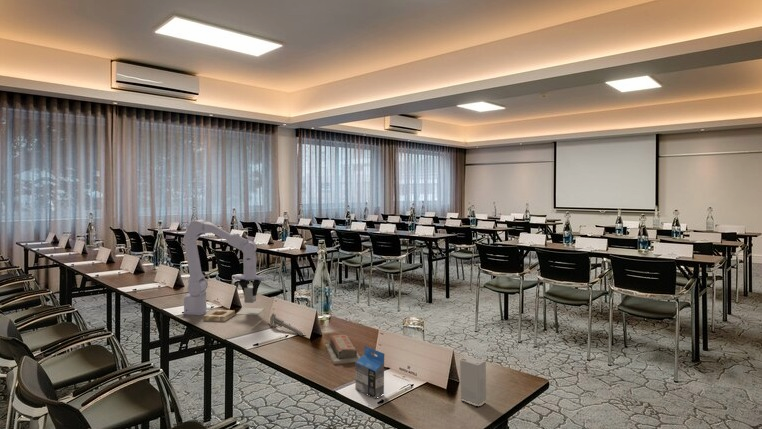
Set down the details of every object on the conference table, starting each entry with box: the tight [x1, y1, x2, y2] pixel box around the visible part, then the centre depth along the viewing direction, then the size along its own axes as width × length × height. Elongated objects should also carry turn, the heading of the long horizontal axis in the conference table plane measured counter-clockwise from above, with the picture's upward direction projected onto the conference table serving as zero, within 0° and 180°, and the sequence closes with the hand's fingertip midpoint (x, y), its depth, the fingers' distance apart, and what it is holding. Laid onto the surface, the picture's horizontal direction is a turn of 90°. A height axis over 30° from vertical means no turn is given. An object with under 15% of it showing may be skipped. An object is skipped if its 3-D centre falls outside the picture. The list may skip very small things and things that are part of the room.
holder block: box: [202, 309, 236, 322], centre depth 200 cm, size 10×10×2 cm
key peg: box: [243, 285, 257, 304], centre depth 209 cm, size 4×4×7 cm
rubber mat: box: [235, 307, 265, 316], centre depth 210 cm, size 10×10×1 cm
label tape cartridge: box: [354, 345, 385, 399], centre depth 129 cm, size 9×4×12 cm, turn 45°
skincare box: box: [459, 355, 487, 405], centre depth 123 cm, size 6×4×12 cm
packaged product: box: [325, 333, 361, 365], centre depth 159 cm, size 18×5×10 cm
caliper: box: [269, 313, 303, 336], centre depth 183 cm, size 20×1×6 cm, turn 56°
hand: (250, 295), depth 209 cm, fingers closed on key peg, 4 cm apart
